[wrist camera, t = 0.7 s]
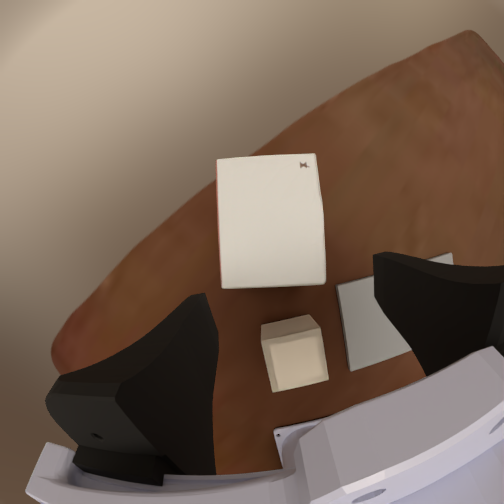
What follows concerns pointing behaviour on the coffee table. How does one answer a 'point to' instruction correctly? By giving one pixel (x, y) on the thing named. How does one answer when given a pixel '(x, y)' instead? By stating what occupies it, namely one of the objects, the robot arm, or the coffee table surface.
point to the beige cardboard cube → (294, 353)
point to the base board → (369, 323)
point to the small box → (270, 221)
